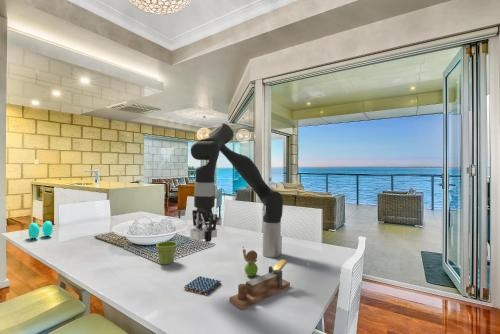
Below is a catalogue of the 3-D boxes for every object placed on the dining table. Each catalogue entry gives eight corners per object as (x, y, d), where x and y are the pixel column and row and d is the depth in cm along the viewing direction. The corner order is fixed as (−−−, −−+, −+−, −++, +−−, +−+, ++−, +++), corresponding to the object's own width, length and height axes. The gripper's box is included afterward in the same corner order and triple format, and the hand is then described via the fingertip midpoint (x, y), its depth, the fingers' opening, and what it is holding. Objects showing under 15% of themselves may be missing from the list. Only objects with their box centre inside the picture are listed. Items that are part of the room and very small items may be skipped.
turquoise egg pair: (27, 238, 153) (28, 222, 154) (47, 235, 162) (48, 219, 162) (32, 241, 148) (33, 224, 148) (53, 237, 156) (53, 221, 156)
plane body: (277, 281, 98) (278, 263, 98) (289, 286, 94) (290, 267, 94) (229, 301, 82) (229, 280, 82) (241, 309, 77) (241, 286, 78)
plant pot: (151, 264, 113) (151, 245, 114) (165, 258, 122) (165, 240, 122) (167, 267, 110) (168, 248, 110) (181, 260, 119) (181, 242, 119)
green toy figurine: (241, 273, 105) (242, 244, 106) (256, 272, 106) (257, 244, 106) (242, 278, 100) (242, 248, 100) (258, 278, 100) (258, 248, 101)
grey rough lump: (208, 233, 97) (208, 226, 97) (216, 236, 93) (216, 228, 93) (190, 237, 92) (190, 229, 92) (198, 240, 88) (198, 232, 88)
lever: (271, 271, 94) (281, 260, 98) (278, 274, 91) (288, 263, 95) (270, 269, 93) (280, 258, 97) (277, 272, 91) (287, 261, 95)
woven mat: (198, 280, 99) (199, 274, 99) (222, 285, 95) (222, 279, 95) (182, 291, 90) (182, 285, 90) (207, 297, 85) (207, 291, 86)
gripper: (186, 193, 96) (185, 237, 95) (206, 196, 85) (205, 246, 85) (203, 192, 101) (202, 234, 101) (224, 195, 90) (223, 242, 90)
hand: (203, 239), depth 93 cm, fingers closed on grey rough lump, 5 cm apart
